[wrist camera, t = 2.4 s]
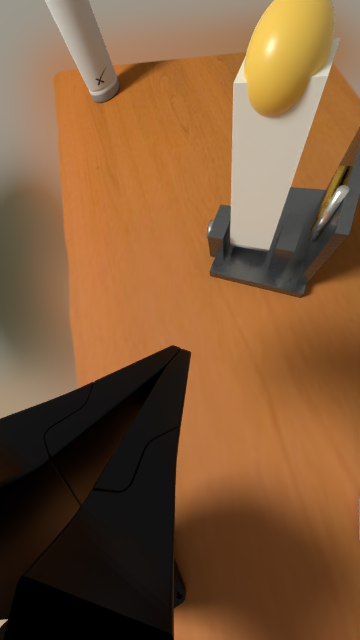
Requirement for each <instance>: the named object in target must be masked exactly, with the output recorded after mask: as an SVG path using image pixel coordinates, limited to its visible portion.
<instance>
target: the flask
mask: <svg viewBox="0 0 360 640" xmlns="http://www.w3.org/2000/svg"><path fill="white" fill-rule="evenodd" d="M359 542H360V497H359Z"/></svg>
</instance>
